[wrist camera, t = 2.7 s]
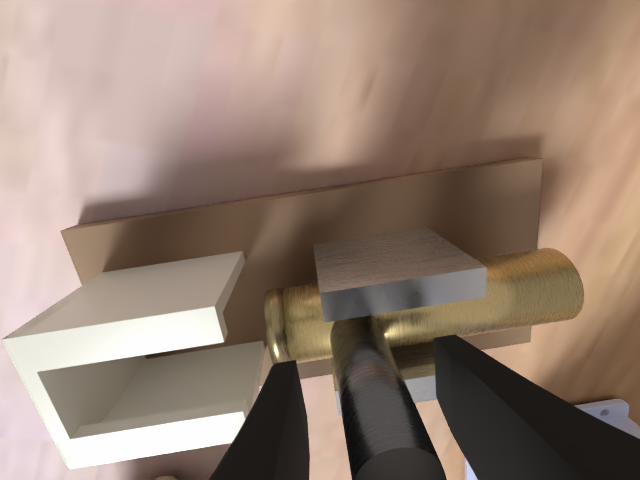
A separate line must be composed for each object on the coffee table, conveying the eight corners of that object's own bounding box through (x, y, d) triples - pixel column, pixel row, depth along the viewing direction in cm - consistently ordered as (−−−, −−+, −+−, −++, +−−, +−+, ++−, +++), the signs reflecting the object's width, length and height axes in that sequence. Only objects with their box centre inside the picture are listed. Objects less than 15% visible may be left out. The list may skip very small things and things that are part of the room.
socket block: (242, 250, 14) (214, 306, 9) (265, 349, 15) (250, 439, 11) (102, 272, 14) (1, 339, 9) (138, 369, 15) (68, 469, 10)
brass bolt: (529, 237, 13) (902, 392, 5) (525, 298, 14) (838, 516, 6) (269, 277, 13) (218, 507, 5) (281, 337, 14) (255, 618, 6)
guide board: (526, 157, 14) (664, 166, 9) (517, 330, 17) (618, 417, 12) (76, 225, 14) (-63, 277, 9) (140, 391, 17) (65, 509, 11)
